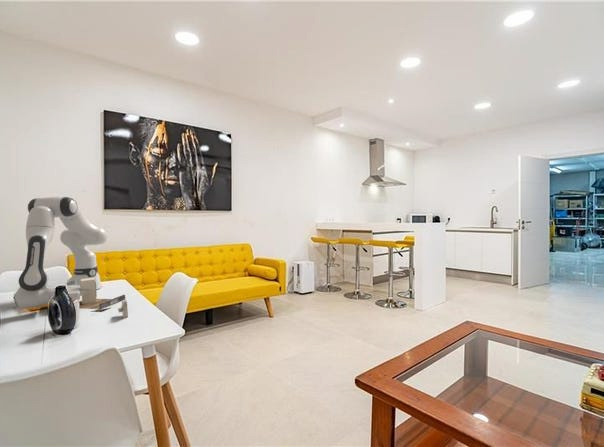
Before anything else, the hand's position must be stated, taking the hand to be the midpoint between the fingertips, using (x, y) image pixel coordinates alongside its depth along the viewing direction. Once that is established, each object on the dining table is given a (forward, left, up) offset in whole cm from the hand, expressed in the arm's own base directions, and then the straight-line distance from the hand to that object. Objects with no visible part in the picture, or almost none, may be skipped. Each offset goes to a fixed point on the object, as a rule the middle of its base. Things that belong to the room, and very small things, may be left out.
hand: (90, 290), depth 166 cm
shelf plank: (+5, -2, -8) cm, 9 cm away
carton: (0, -1, -6) cm, 6 cm away
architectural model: (+35, -7, -8) cm, 37 cm away
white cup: (+25, -26, -8) cm, 37 cm away
